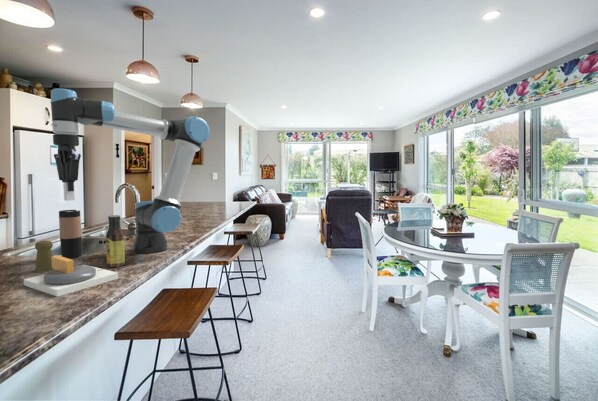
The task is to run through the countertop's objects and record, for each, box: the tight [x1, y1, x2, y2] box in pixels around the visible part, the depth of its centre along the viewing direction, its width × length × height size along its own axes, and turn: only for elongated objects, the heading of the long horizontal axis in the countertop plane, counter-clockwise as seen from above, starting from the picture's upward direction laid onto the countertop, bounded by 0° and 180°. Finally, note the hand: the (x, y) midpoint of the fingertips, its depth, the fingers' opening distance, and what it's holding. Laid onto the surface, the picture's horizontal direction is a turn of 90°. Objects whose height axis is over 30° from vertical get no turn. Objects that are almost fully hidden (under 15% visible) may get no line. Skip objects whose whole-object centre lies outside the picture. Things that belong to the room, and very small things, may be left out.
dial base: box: [23, 264, 119, 297], centre depth 110 cm, size 19×20×2 cm
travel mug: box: [58, 209, 83, 260], centre depth 140 cm, size 8×8×20 cm
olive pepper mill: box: [34, 239, 55, 273], centre depth 122 cm, size 6×6×11 cm
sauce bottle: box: [105, 214, 126, 268], centre depth 127 cm, size 6×6×20 cm
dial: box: [43, 254, 96, 285], centre depth 108 cm, size 18×14×6 cm
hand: (69, 200), depth 119 cm, fingers closed
